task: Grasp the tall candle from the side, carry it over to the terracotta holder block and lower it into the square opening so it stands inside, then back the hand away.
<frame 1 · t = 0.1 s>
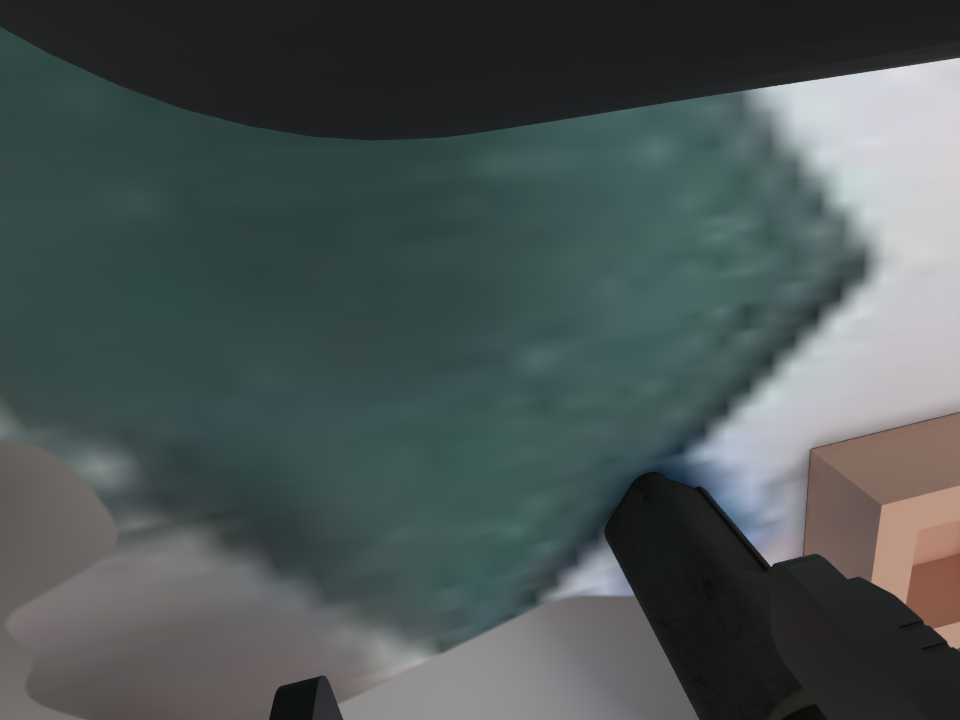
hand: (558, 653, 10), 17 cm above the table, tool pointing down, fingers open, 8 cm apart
holder block: (898, 509, 34), on the table
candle: (655, 514, 32), on the table
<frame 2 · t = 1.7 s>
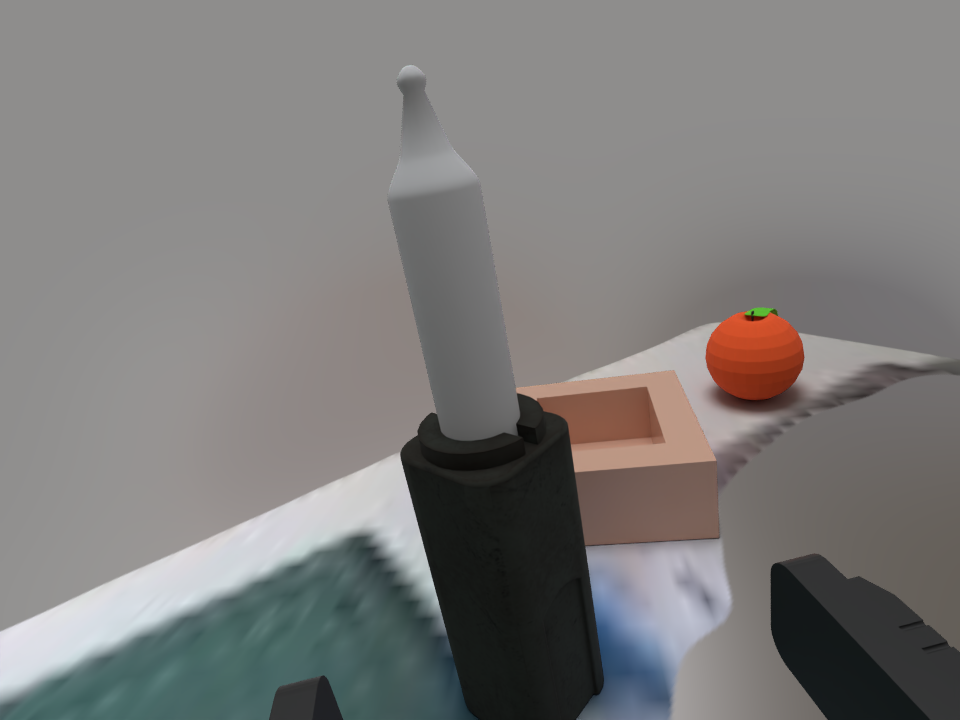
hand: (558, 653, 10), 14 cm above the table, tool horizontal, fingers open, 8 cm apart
clementine: (756, 394, 46), on the table
holder block: (602, 483, 38), on the table
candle: (534, 689, 25), on the table
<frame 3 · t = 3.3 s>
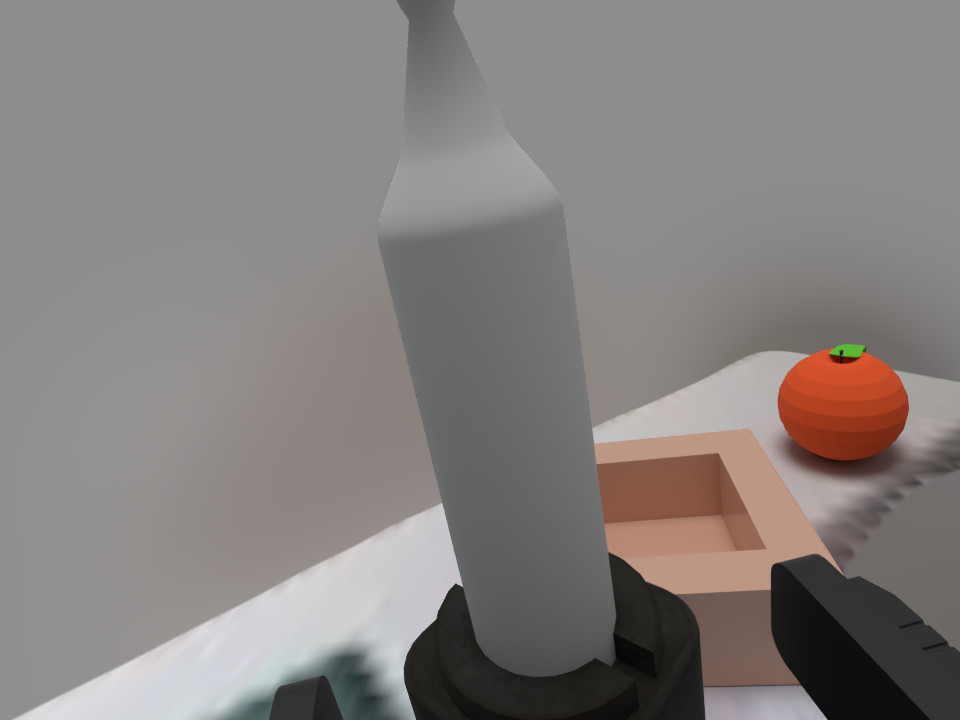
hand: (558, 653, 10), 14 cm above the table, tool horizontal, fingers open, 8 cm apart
clementine: (840, 451, 37), on the table
holder block: (663, 582, 29), on the table
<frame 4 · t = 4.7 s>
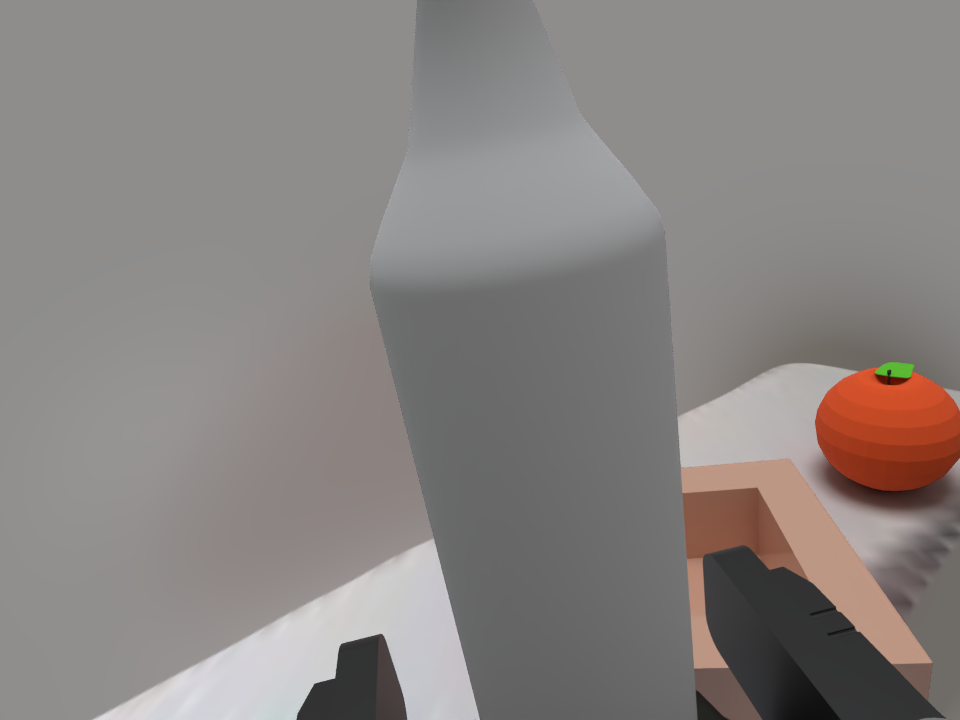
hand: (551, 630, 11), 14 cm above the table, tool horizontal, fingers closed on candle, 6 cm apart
clementine: (884, 478, 34), on the table
holder block: (697, 633, 26), on the table
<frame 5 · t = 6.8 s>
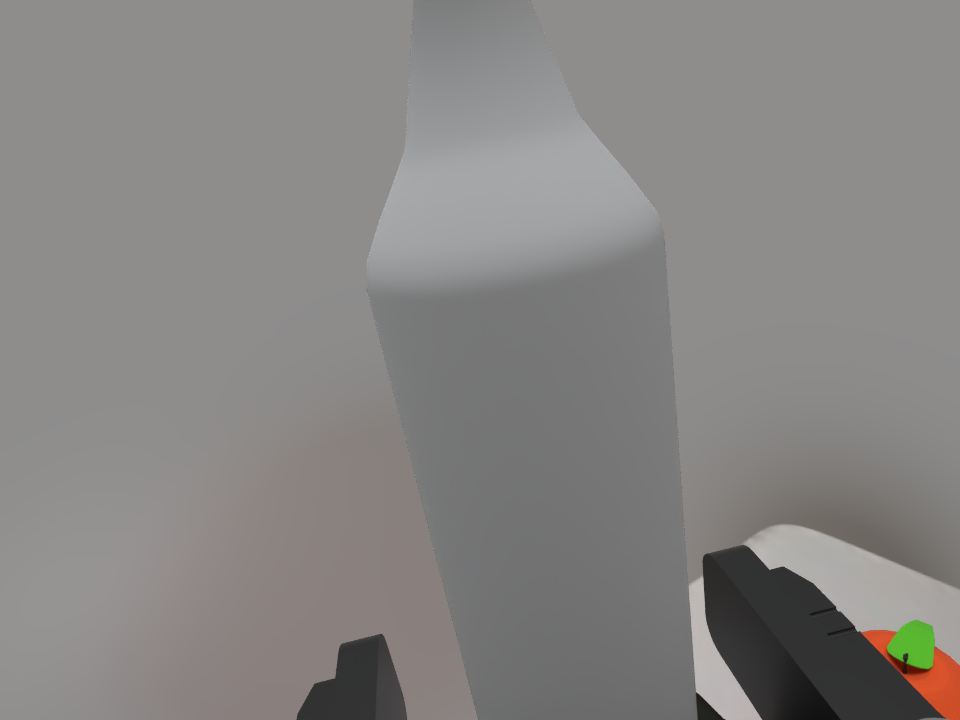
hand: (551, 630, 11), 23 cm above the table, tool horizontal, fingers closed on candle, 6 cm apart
when the fingers open (16 cm above the table, at t = 9.2 s): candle drops 1 cm, resting on holder block.
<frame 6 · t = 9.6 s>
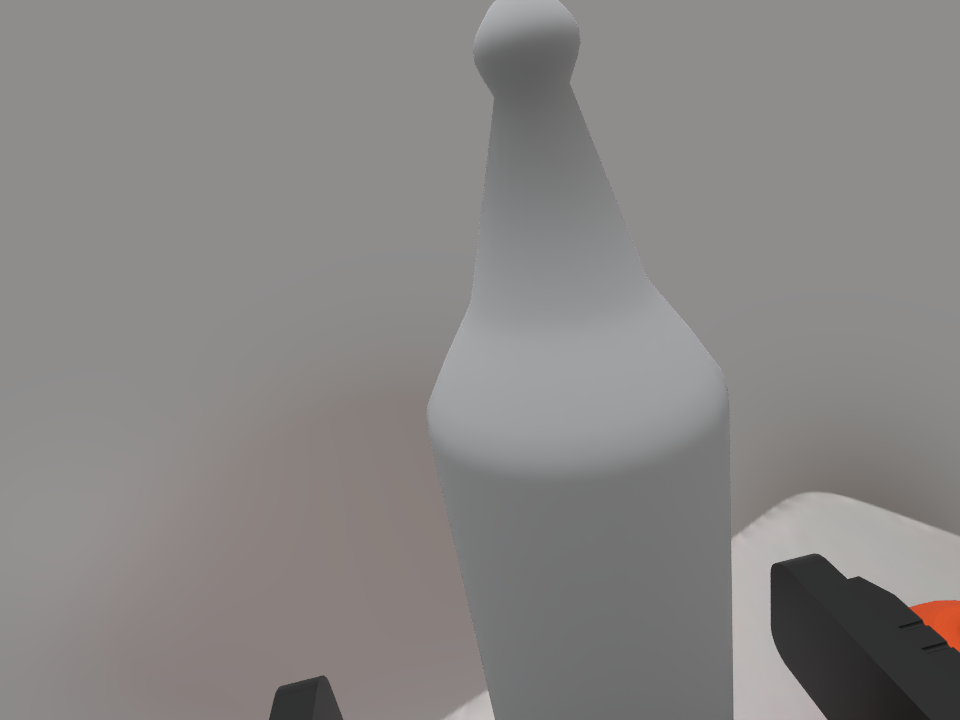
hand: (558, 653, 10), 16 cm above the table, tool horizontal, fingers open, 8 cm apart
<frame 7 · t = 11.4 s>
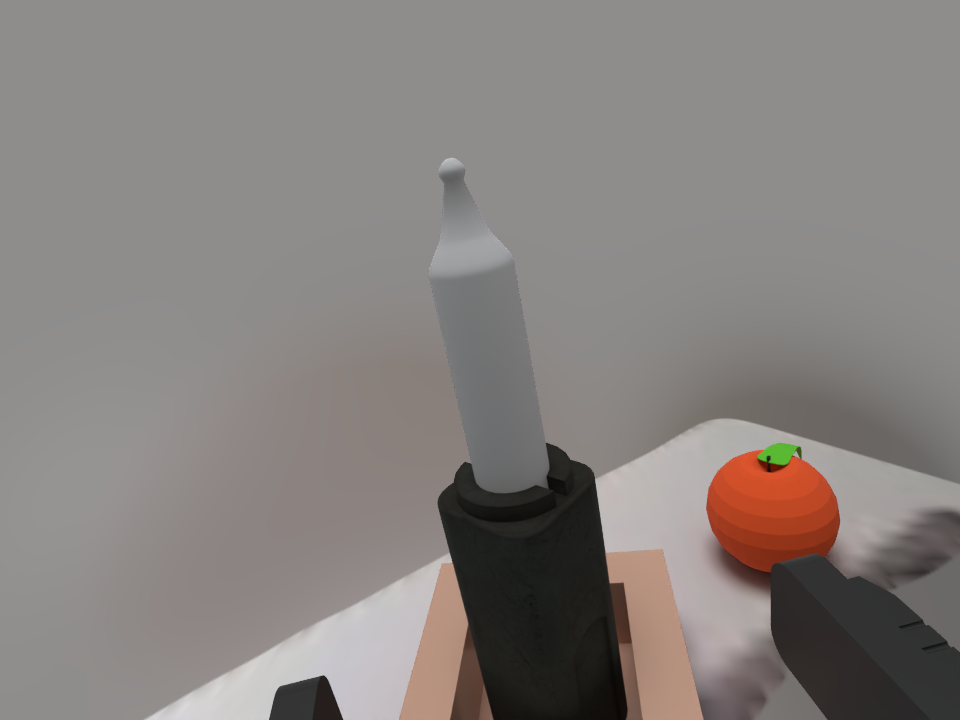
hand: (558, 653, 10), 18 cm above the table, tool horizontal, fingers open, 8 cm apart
clementine: (774, 555, 35), on the table
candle: (561, 719, 27), point 1 cm above the table, touching holder block
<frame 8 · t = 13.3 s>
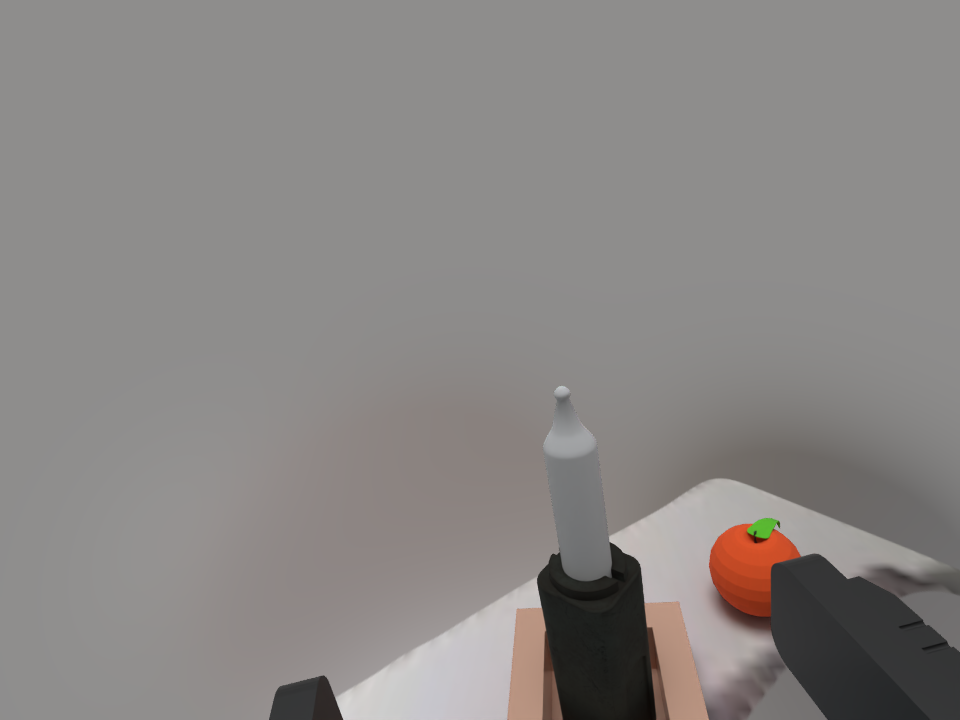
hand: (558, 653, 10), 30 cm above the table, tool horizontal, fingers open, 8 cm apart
clementine: (759, 600, 47), on the table
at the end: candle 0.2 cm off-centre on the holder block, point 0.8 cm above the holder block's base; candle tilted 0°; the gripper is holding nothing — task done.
